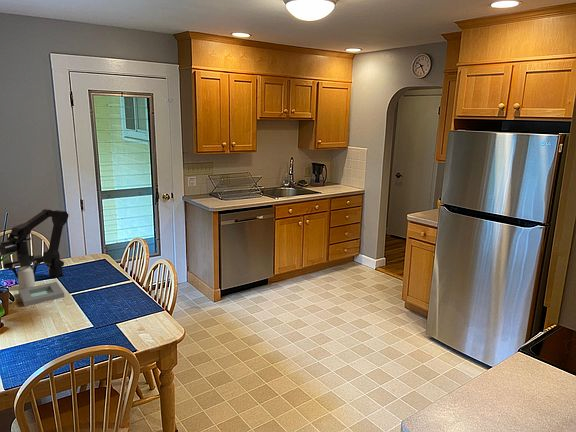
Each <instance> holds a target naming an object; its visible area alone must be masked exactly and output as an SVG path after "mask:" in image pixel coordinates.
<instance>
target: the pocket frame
mask: <svg viewBox="0 0 576 432" xmlns="http://www.w3.org/2000/svg"><path fill="white" fill-rule="evenodd" d="M18 295H19V297H20V300H21V301H22V303H23V305H24V307H29V306H32V305H38V304H41V303H45V301H46V302H49V300H50V301H54V300H58V299H62V298H65V292H64V290H63V289H62V287H61V286H60V285H59V284H58V282H57V281H55V282H54V281H53V282H49V283H44V284H40V285H34V286H33V287H30V288H25V289H21V288H20V289H18Z"/></svg>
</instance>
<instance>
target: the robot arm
mask: <svg viewBox="0 0 576 432" xmlns="http://www.w3.org/2000/svg"><path fill="white" fill-rule="evenodd" d="M69 217H70V216H69V213H68V211H65V210H58V209H55V210H51V209H50V208H49V209H48V208H45V209H42V210H41V212H39V213H37V214H36V215H35V216H33V217H32V218H30V219H28V221H26V222H24V223H20V224H18V225H15V226H13V227H12V228H11V231H10V234H9V235H8V237H7V239H6V240H5V241H1V242H0V254H1V256H5V255H8V254H13V253H15V254H16V259H17V260H15V261H12V260H10V259H9V260H5V261H3V262H2V268H3V269H4V270H10V271H12V273H14V275H15V277H16V279H18V275H17V270H16V267H15V266H16V265H19V267H20V266H21V267H24V266H30V265H31V266H32V268H33V273H34V276H35V275H36V271H37V268H38V266H39V265H40V264H42V263H44V264H45V266H47V267H48V268H47V271H48V277H49V278H50V279H56V278H60V277H64V273H63V267H64V265H65V262H64V261H63V260H61V259H60V258H61V256H60V255H61V254H60V251H59V249H60V244H61V243H60V242H61V239H62V238H61V237H62V234H63V228H64V226H65V225H66V223H67V222H68V220H69V219H68V218H69ZM48 218H51V221H52V224H53V226H52V231H51V236H50V240H49V245H48V249H47V251H43V255H42V254H38V255H30V253H29V251H30V250H29V245H28V241H31V240H32V238H30V237H29V235H30V234H31V233H32V230H34V229H35V228H36V227H38V226H39V225H40V224H42V223H44V221H46V220H47V219H48Z"/></svg>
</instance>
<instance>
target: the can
mask: <svg viewBox="0 0 576 432" xmlns="http://www.w3.org/2000/svg"><path fill="white" fill-rule="evenodd" d="M16 272H17V275H18V278H17V281H18V287H19V288H20V289H25V288H30V287H34V286H36V281H35V275H34V273H33V266H32V264H31V265H30V266H24V267H21V266H20V265H19V266H18V267H17V270H16Z"/></svg>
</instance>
